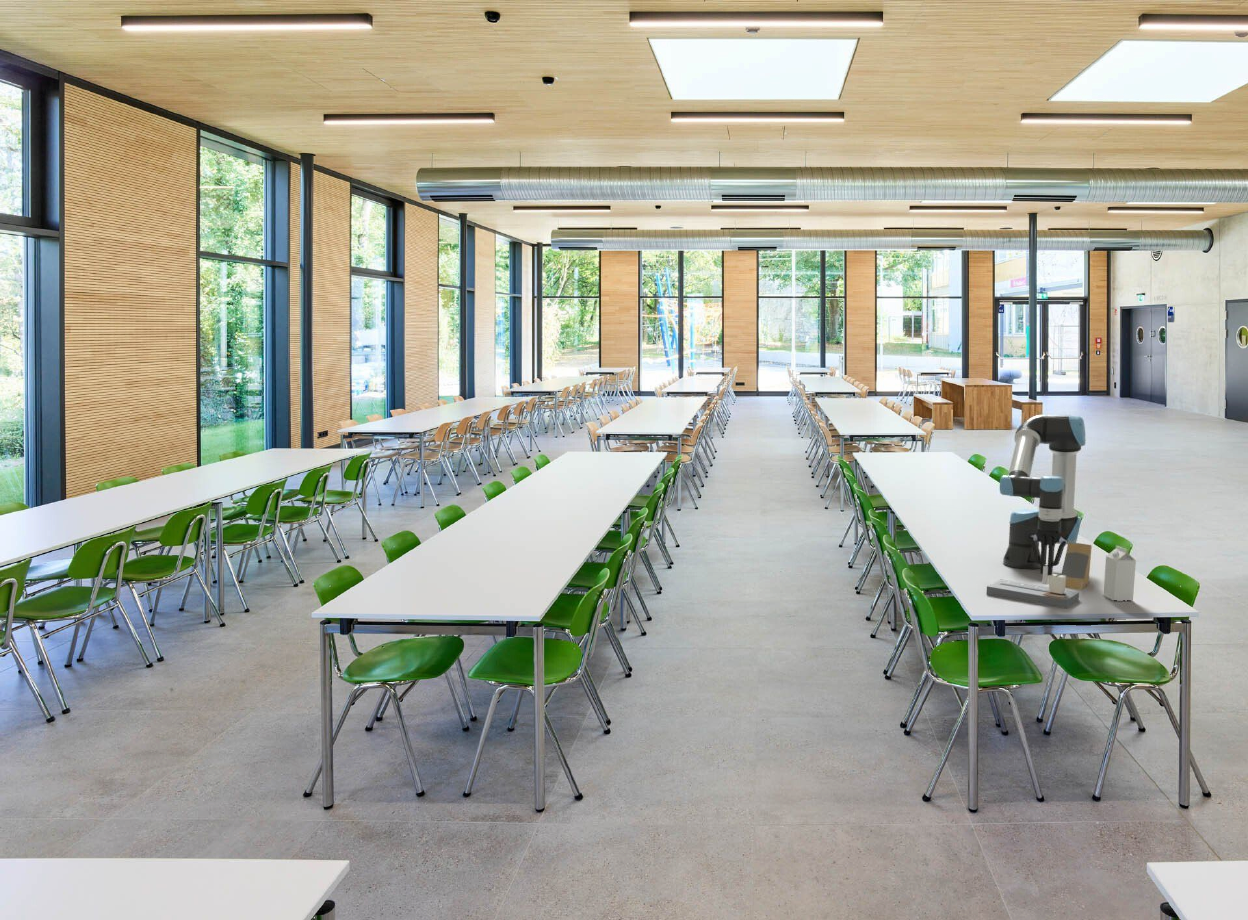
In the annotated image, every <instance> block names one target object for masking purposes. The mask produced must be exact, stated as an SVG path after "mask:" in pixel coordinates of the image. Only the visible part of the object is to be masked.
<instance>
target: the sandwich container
mask: <svg viewBox="0 0 1248 920" xmlns="http://www.w3.org/2000/svg"><path fill="white" fill-rule="evenodd" d="M1092 547H1093V546H1092V544H1085V543H1080V542H1076V543H1072V542H1068V544H1067V545H1066V551H1065V552H1066V553H1065V556H1064V561H1063V565H1062V569H1061V574H1060V575H1064V576H1066V582H1065V589H1069V590H1075V591H1082V590H1083V589H1085V587H1086V586H1087V585H1088V583H1089V582H1090V569H1091V559H1092V558H1091V555H1092Z"/></svg>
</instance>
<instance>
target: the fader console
mask: <svg viewBox="0 0 1248 920" xmlns="http://www.w3.org/2000/svg"><path fill="white" fill-rule="evenodd" d="M986 595H989V596H990V595H991V596H994V597H995V596H996V597H1000V598H1004V599H1006V598H1007V599H1013V600H1018V601H1022V602H1028V603H1034V604H1039V605H1045V606H1051V607H1057V608H1062V609H1068V608H1070V607H1071V606H1073V605H1074V604H1075V603H1077V602H1078V601H1079V600H1080V592H1079V591H1076V590H1075V591H1072V590H1070V589H1069V590H1067V589H1065V592H1064V593H1063V594H1058V593H1052V592H1049V586H1043V585H1037V584H1032V583H1026V582H1022V581H1021V582H1019V581H1014V580H1008V579H1002V578H1001V579H999V580H996V581H994V582H993V583H990V584H988V585H987V586H986Z"/></svg>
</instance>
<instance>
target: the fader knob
mask: <svg viewBox="0 0 1248 920" xmlns="http://www.w3.org/2000/svg"><path fill="white" fill-rule="evenodd" d="M1065 582H1066V576H1064V575H1061V574H1057V573H1052V575H1049V583H1048V587H1049V592H1052V593H1058V594H1063V593H1064V592H1065V590H1066V588H1065Z"/></svg>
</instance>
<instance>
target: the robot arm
mask: <svg viewBox="0 0 1248 920" xmlns="http://www.w3.org/2000/svg"><path fill="white" fill-rule="evenodd" d="M1085 425H1086V424H1085V421H1084V418H1083V417H1081V416H1080V415H1071V414H1069V415H1067V414H1066V415H1064V414H1062V415H1061V414H1038V415H1034V416H1031V417H1029V418H1028V419H1026V420H1025V421H1023V422H1022V423H1021V424H1020V425H1019V426H1018V428H1017V429H1016V431H1015V434H1014V438H1013V439H1014V442H1015V446H1014V450H1013V454H1012V458H1011V462H1010V466H1009V471H1008V474H1007V475H1005V474H1004V475H1001V477H1000V480H999V493H1000V495H1002V496H1009V497H1018V498H1019V497H1022V498H1032V499H1033V498H1035V499H1039V504H1038V509H1035V508H1030V509H1029V508H1027V509H1025V508H1024V509H1018V510H1015V511H1012V512H1011V514H1010V519H1009V522H1008V523H1009V533H1008V535H1009V536H1008V546H1007V548H1006V550H1005V553H1004V555H1003V561H1002V563H1003V564H1004V565H1005V566H1008V567H1010V568H1015V569H1026V570H1027V569H1028V570H1030V569H1031V570H1032V569H1035V570H1036V569H1039V573H1040V574H1041V575H1042V580H1041V582H1042V583H1041V584H1042V585H1049V580H1050V575H1052V574H1053V571H1054V570H1053V569H1054V568H1053V567H1056V566H1058V565H1060V561H1061V557H1062V555H1063V552H1064V549H1065V546H1067V545H1068V542H1072V543H1078V536H1079V533H1080V532H1079V531H1080V527H1081V522H1082V517H1081V516H1078V514H1079V513H1078V511H1077V510H1076V509H1075V491H1076V472H1077V471H1076V468H1077V454H1078V453H1079V452H1080V451H1081V450H1082V447H1084V446H1086V427H1085ZM1040 444H1044V445H1048V450H1050V451H1051V452H1052V461H1051V462H1052V464H1051V465H1052V466H1051V475H1044V476H1041V477H1035V476H1034V477H1032V476H1031V473H1032V467H1033V464H1034V458H1035V455H1036V450H1037V447H1038V446H1040ZM1056 544H1057V545H1058V548H1057V551H1056V553H1055V547H1056ZM1040 548H1041V549H1040ZM1047 550H1048V554H1047ZM1047 555H1048V557H1047Z"/></svg>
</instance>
